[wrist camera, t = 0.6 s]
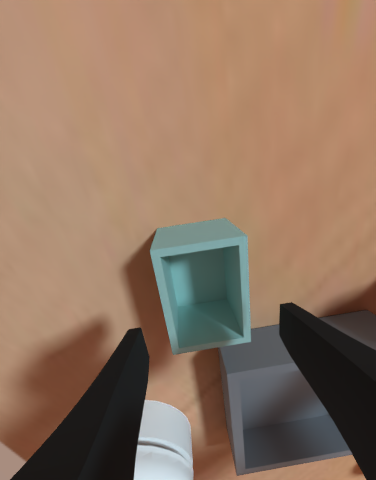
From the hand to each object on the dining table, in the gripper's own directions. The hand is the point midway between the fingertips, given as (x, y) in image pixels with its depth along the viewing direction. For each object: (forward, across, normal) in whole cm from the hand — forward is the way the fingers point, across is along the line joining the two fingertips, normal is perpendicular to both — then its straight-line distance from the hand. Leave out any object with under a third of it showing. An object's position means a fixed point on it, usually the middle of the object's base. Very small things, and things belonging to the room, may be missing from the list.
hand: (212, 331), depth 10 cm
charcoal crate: (+7, -9, +16) cm, 20 cm away
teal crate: (+7, 0, 0) cm, 7 cm away
